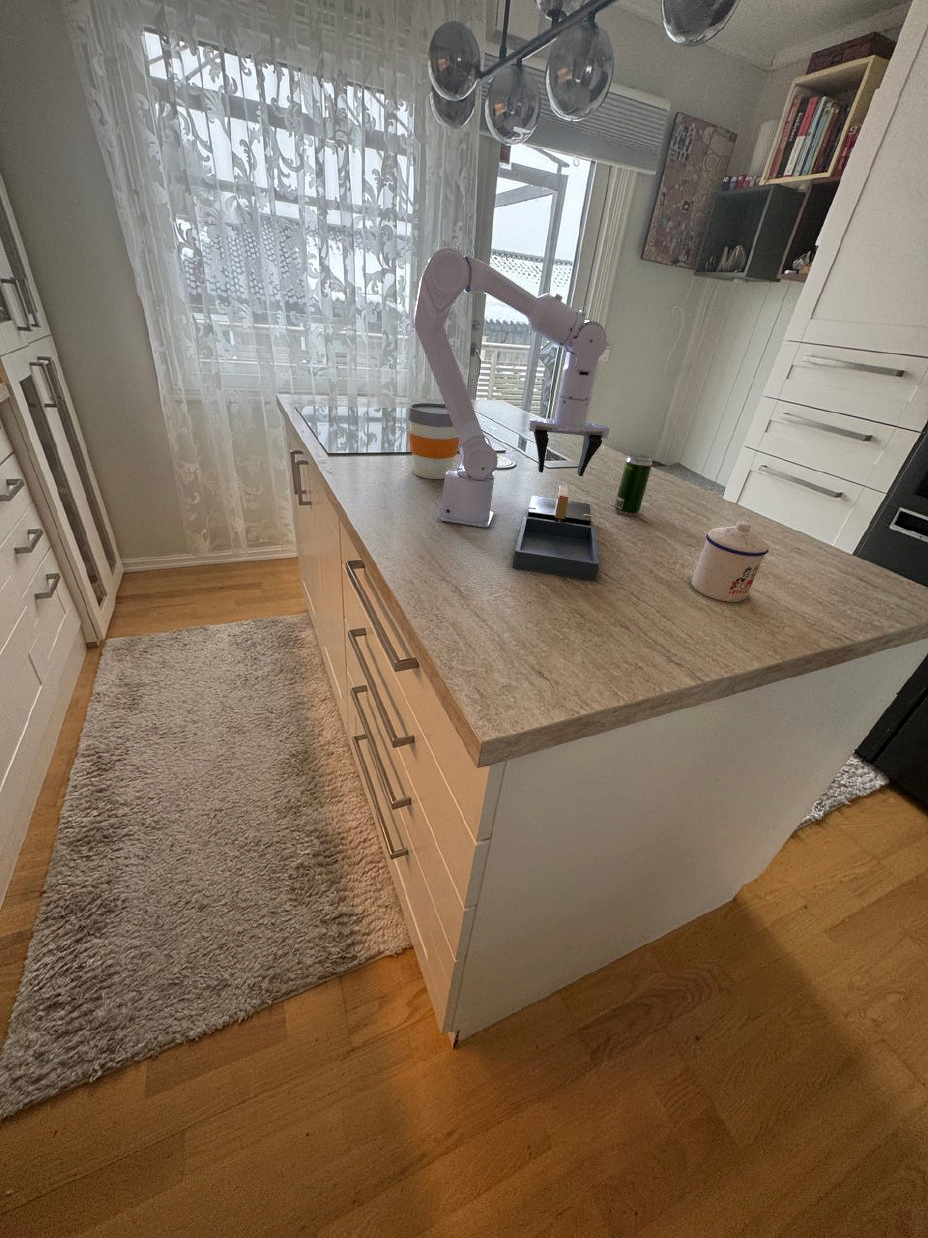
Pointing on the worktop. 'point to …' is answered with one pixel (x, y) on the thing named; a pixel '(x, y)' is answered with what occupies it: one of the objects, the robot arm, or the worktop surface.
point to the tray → (557, 548)
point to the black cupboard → (547, 507)
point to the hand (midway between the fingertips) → (560, 472)
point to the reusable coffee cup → (432, 440)
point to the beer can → (633, 484)
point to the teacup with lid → (729, 562)
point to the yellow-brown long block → (562, 502)
